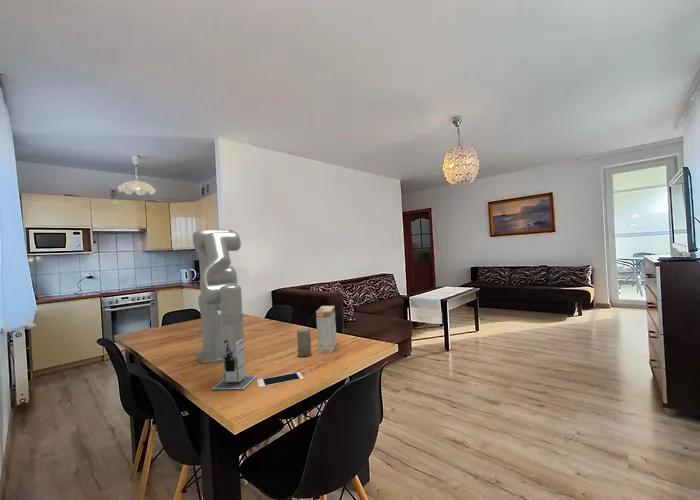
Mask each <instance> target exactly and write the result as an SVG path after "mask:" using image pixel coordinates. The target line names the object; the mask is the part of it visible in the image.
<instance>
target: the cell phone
mask: <svg viewBox="0 0 700 500" xmlns="http://www.w3.org/2000/svg"><path fill="white" fill-rule="evenodd" d="M304 379H305V378H304V376H303V374H302V373H301V372H300V371H296V372H292V373H285V374H280V375H275V376H269V377H266V378H265V377H264V378H260V379H257V380H256V382H257V384H258V387H259V389H261V388H264V387H270V386H276V385H280V384H285V383H291V382H295V381H300V380H304Z"/></svg>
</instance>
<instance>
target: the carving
mask: <svg viewBox="0 0 700 500" xmlns="http://www.w3.org/2000/svg"><path fill="white" fill-rule="evenodd" d="M296 335H297V336H296V337H297V354H298V356H299V357H302V358H304V357H309V356H310V355H311V353H312V348H311V347H312V340H311V338H312V336H311V335H312V334H311V330H310V328H309V327H304V328H299V329H297V330H296Z"/></svg>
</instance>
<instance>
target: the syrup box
mask: <svg viewBox="0 0 700 500" xmlns="http://www.w3.org/2000/svg"><path fill="white" fill-rule="evenodd" d="M244 345H245V341H244V342H243V339H241V340H239V341H237V342H236V343H235V351H234V352H233V360H234V367H235V370H234V371H231V372H226V371H225V361H224V357H223V361H222V363H223V376H224V377H223V379H224V382H225V383H228V382H240V381H241V380H242V379H244V378H245V376H246V365H245V346H244ZM227 351H231V349H228V350H227ZM228 354H229V355H231V353H228Z"/></svg>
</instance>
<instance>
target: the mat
mask: <svg viewBox="0 0 700 500" xmlns="http://www.w3.org/2000/svg"><path fill="white" fill-rule="evenodd" d="M257 378H258V375H245V378H244V379H242V380H241V381H240V382H228V383H225V382H224V378H222V380H221V381H218V382H217V384H216V385H214V386H213V387H212V388H211V389H210V391H245V390H246V389H247V387H248V386H250V385H251V384H252V383H253V382H254V381H255V380H256V379H257Z"/></svg>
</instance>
